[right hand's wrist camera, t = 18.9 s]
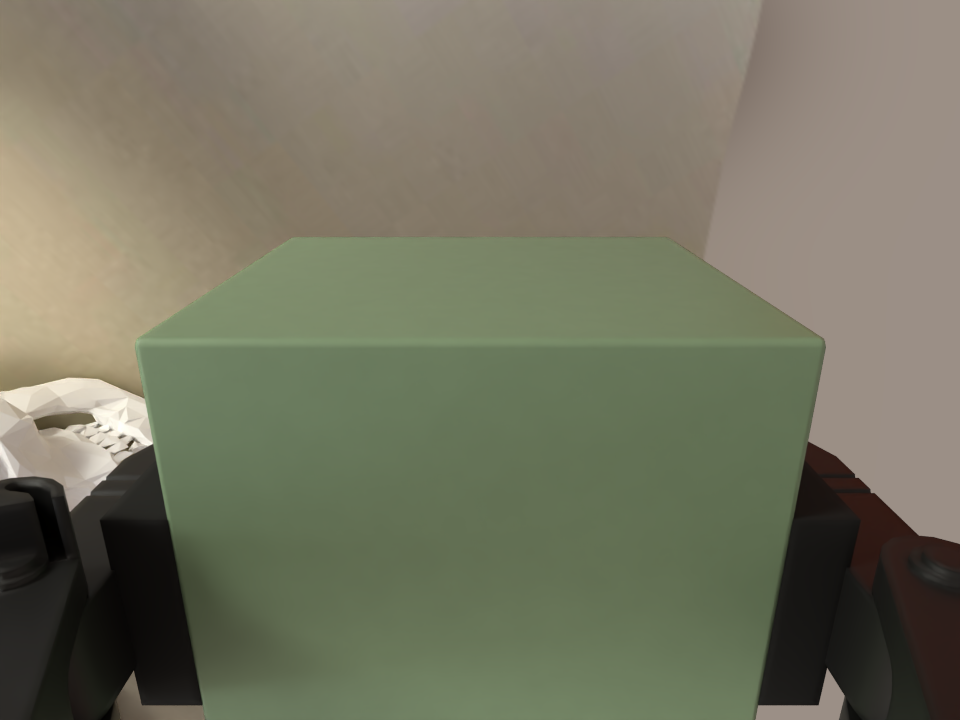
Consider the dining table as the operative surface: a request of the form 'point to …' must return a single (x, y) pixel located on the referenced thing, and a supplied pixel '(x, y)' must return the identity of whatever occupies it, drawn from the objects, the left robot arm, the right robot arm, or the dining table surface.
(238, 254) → the dining table surface
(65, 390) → the skull
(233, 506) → the sage green cube
